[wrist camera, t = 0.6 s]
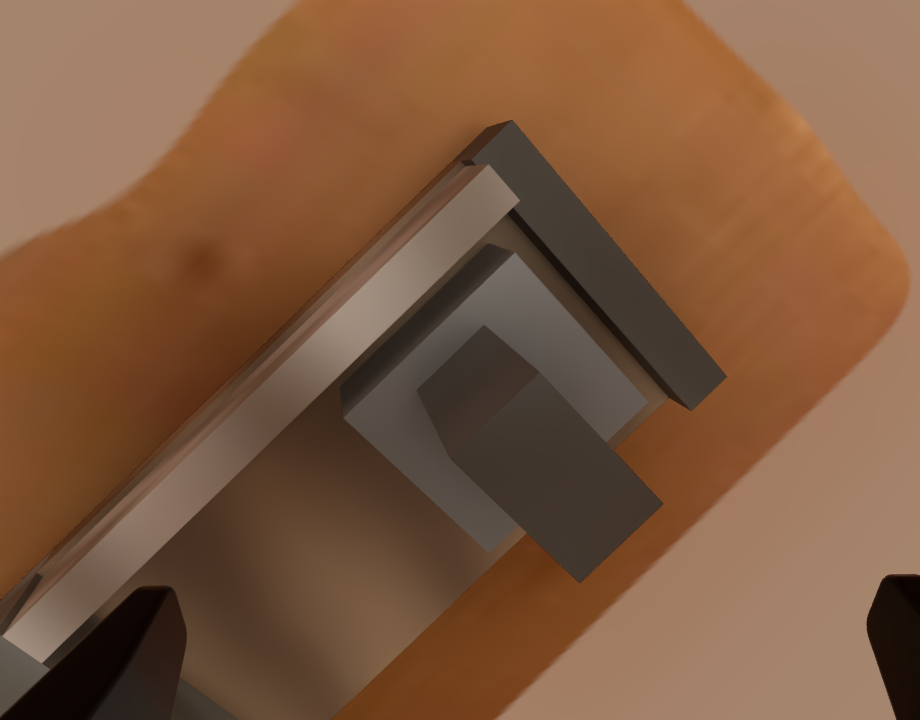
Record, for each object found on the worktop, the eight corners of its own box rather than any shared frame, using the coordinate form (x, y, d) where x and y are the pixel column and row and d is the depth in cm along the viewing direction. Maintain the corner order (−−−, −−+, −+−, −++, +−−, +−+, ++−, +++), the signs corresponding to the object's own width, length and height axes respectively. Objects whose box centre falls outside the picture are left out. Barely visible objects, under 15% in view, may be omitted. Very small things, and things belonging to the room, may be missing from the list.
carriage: (468, 508, 24) (541, 664, 16) (339, 387, 22) (353, 496, 14) (608, 374, 24) (748, 469, 16) (488, 243, 22) (582, 276, 14)
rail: (128, 882, 27) (92, 1018, 22) (-129, 726, 24) (-227, 847, 19) (681, 354, 26) (754, 390, 22) (487, 127, 23) (527, 115, 19)
